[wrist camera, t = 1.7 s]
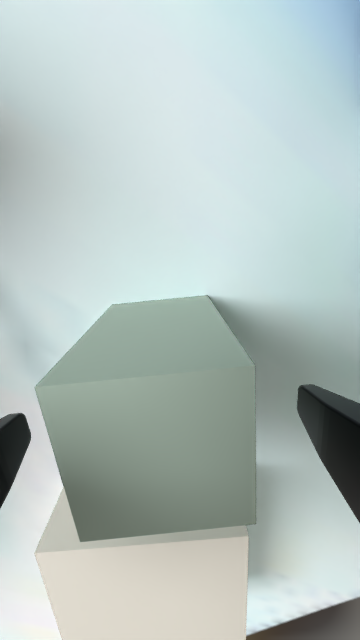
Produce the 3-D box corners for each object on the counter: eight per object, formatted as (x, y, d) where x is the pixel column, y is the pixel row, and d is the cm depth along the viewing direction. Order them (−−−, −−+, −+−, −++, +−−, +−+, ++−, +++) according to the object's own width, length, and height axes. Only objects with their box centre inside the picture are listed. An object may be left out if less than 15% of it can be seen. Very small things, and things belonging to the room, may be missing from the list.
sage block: (207, 295, 13) (255, 365, 6) (212, 379, 15) (256, 523, 7) (112, 304, 13) (34, 387, 6) (126, 388, 15) (79, 542, 7)
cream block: (226, 452, 17) (248, 536, 12) (227, 557, 20) (245, 658, 15) (73, 464, 17) (34, 553, 12) (96, 567, 20) (73, 673, 15)
